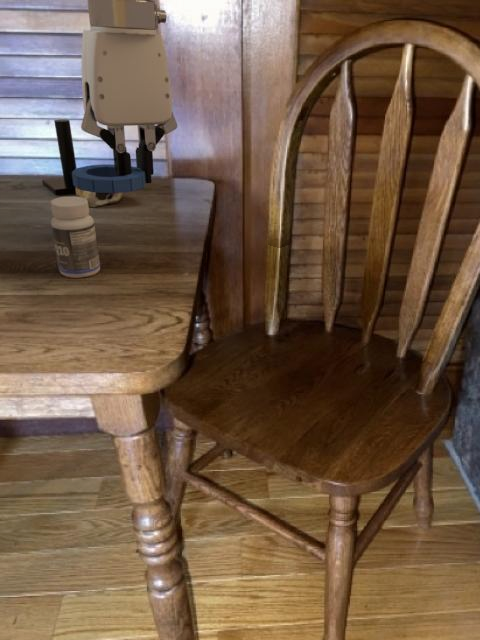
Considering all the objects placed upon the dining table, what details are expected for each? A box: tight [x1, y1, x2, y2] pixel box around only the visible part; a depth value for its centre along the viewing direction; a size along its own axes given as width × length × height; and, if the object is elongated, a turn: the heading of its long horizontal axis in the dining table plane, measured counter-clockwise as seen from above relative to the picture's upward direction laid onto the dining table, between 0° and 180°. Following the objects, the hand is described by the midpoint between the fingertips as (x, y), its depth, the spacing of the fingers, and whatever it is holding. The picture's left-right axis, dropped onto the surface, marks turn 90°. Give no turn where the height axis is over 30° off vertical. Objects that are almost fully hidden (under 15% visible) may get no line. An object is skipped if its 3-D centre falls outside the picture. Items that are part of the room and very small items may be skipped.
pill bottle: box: [50, 195, 101, 279], centre depth 66 cm, size 5×5×8 cm
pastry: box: [75, 188, 123, 208], centre depth 94 cm, size 9×7×4 cm
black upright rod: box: [41, 118, 78, 196], centre depth 98 cm, size 8×8×11 cm
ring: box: [72, 163, 147, 194], centre depth 73 cm, size 9×9×2 cm
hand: (135, 180), depth 75 cm, fingers closed on ring, 2 cm apart
